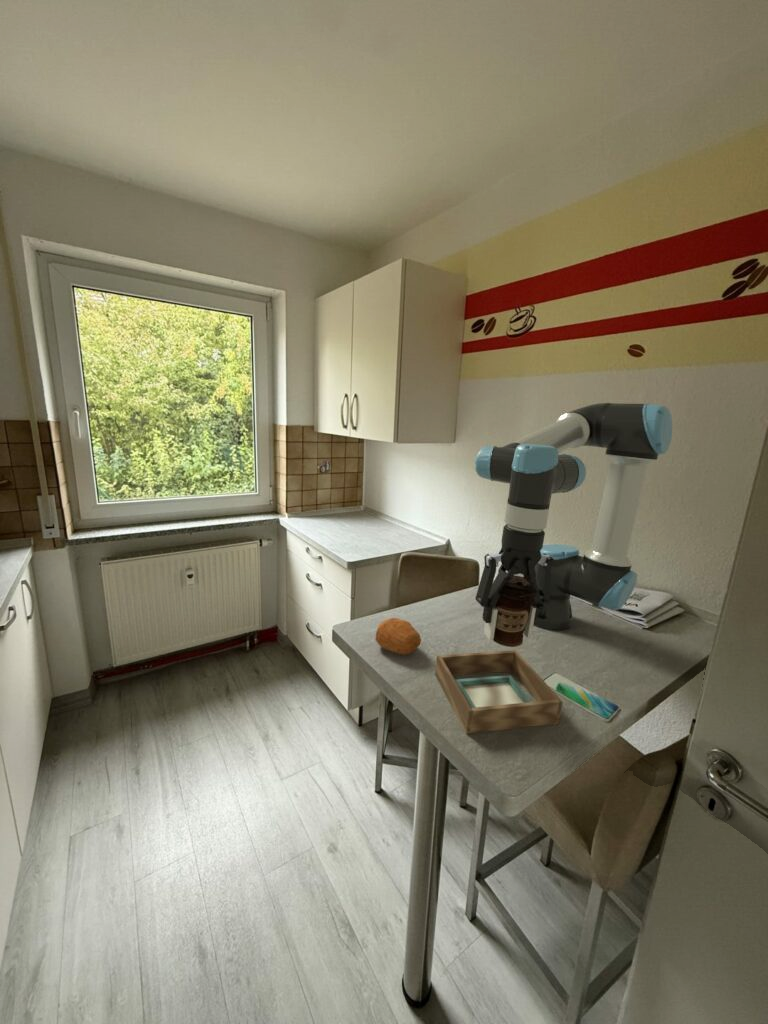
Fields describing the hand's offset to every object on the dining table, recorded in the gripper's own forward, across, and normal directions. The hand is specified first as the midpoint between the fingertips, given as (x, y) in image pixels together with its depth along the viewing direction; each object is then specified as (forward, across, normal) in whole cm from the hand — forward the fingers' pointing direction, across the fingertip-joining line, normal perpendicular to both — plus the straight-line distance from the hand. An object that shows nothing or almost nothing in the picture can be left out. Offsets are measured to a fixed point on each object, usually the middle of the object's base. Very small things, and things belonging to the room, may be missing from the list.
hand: (507, 635), depth 82 cm
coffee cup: (+1, 0, 0) cm, 1 cm away
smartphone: (+17, -20, 0) cm, 26 cm away
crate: (+16, 0, -2) cm, 16 cm away
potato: (+16, +16, -22) cm, 32 cm away
